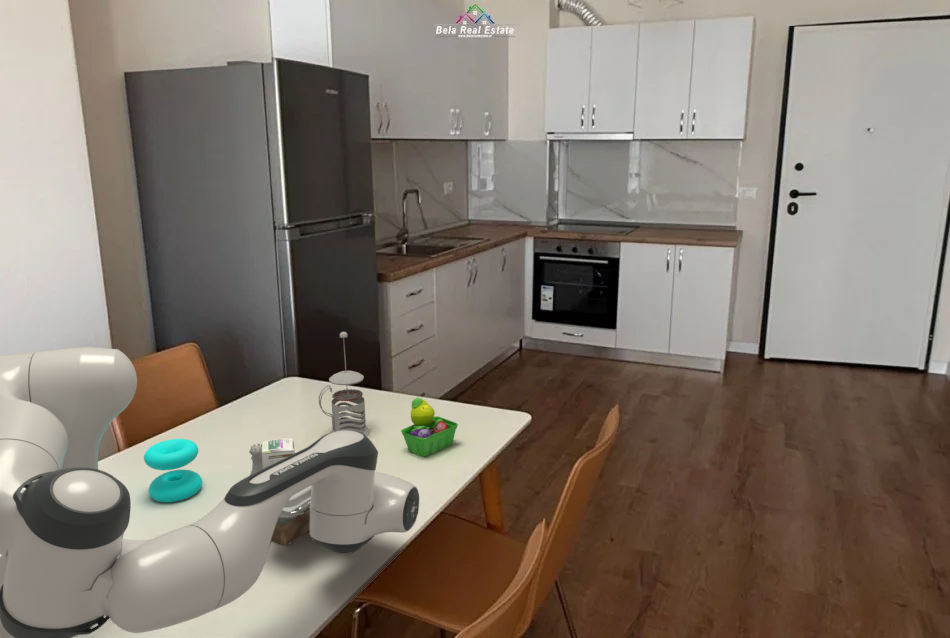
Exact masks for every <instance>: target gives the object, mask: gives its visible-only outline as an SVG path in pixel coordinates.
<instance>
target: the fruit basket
mask: <svg viewBox="0 0 950 638" xmlns="http://www.w3.org/2000/svg"><path fill="white" fill-rule="evenodd" d="M410 410H411V411H410V420H411V422H412V425H410V426H409V425H408V426H407V427H405V428H403V429H401V430H400V432H401V435H402V436H403V439H404V442H405V444H406V447H407V449H408V451H409V452H411V453H413V454H415V455H418V456H421V457H423V458H426V457H427V456H429V455H431V454H435V453H436V452H437V451H441V450H443V449H445V448H447V447H450V446H451V445H453V442H454V438H455V434H456V430H457V428H458V425H459V424H458V423H457V422H455V421H452V420H450V419H446V418H444V417H442V416H441V417H440V416H435V415H436V412H435V410H434V408H433V407H432V406H431V405H430V404H428V402H427V401H426V400H425V399H423V398H421V397H416V398H413V400H412V401H411V409H410Z"/></svg>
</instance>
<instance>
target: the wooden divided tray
mask: <svg viewBox="0 0 950 638" xmlns="http://www.w3.org/2000/svg"><path fill="white" fill-rule="evenodd" d="M309 520H310V508H308V509H307V510H306V511H305V512H303V513H301V514H300V516H298V517H297V518H295V519H294V520H292V521H291V522H289V523H288V524H286V525H282V524H278V523H276V526H275V529H274V532H273V535H272V539H271V542H273V543H277V544H281V545H283V546H285V547H288V545H290V544H291V543H293V542H294V541H296V540H297V539H298V538H300V537H302V535H304V534H306V533H307V532H309V531H310V530H309Z"/></svg>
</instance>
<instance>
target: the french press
mask: <svg viewBox="0 0 950 638" xmlns="http://www.w3.org/2000/svg"><path fill="white" fill-rule="evenodd" d="M348 337H349V336H348V333H347V331H341V332H340V333H339V338H341V339H343V340H342V341H343V343H345V338H348ZM345 347H346V346H345V344H343V353H344V354H343V355H344V356H343V357H344V368H345V370H342V371H339V372H337V373H334V374H333V375H331V376H330V377H329V378H328V380H329V382H330V384H332V385H335V386H336V385H337V386H346V387H345V388H346V389H342V390H337V391H335V392H334V393H333V387H331V385H329V384H327V385H326V386H325V387H323V388H322V389H321V390H320V393H319V395H318V406H319V408H320V410H321V411H322V412H323V414H324V415H326V416H327V417H330V418H331V425H332V426H331V427H332V430H330V432H329V433H331V432H335V431H342V430H351V431H358V432H361V433H363V434H364V435H365V436H367V437H368V434H369V435H370V433H371V428H370V427H368V426H367V419H366V407H365V406H366V405H365V402H366V401H365V397H363V395H364V393H363V391H361V390H359V389H352V388H351V389H348V388H349V387H348V386H350V385H356V384H359V383H361V382H362V381H363V380H364V375H363V374H361V373H360V372H357V371H353V370H347V362H346V361H347V360H346V349H345ZM327 387H328V388H327ZM327 390H329V392H330V393H333V394H332V396H331V397H332V398H333V399H332V400H331V411H332V413H329V412H327V411H325V410H324V409H323V407H322V398H323V395H324V393H326V391H327ZM338 402H339V403H338ZM349 402H350V403H349ZM351 403H352V404H351ZM346 411H348V412H346ZM349 412H350V413H349Z"/></svg>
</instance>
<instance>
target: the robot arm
mask: <svg viewBox="0 0 950 638" xmlns="http://www.w3.org/2000/svg"><path fill="white" fill-rule="evenodd" d="M137 387H138V377H137V371H136V369H135V365H133V363H132V361H131V359H130V358H129V357H128V356H127V355H126V354H125V353H124V352H122V351H121V350H119V349H118V348H106V347H94V346H81V347H68V348H58V349H49V350H48V349H47V350H37V351H29V352H19V353H11V354H0V638H74V637H76V636H78V635H79V636H80V635H83V636H86V635H90V634H92V633H94V632H96V631H97V630H99V629H100V628H101V627H102V626H103V625H104V624H106V623H107V622H108V620H109V619H110V620H111V621H112V623H114V624H115V625H116V626H117V627H118V628H119V629H121V630H123V631H125V632H127V633H132V634H133V633H134V634H141V633H142V634H143V633H148V632H151V631H156V630H158V631H159V630H161V629H165V628H169V627H173V626H175V625H178V624H182V623H185V622H188V621H190V620H194V619H196V618H197V619H198V618H199V617H201V616H205V615H206V614H209V613H210V612H213V611H216V610H217V609H220V608H222V607H225V606H227V605H229V604H231V603H233V602H234V601H236V600H238V599H239V598H240V597H242V596H244V595H245V593H247V592H248V591H249V590H250V589H251V588H252V587H253V586H254V585H255V583H256V582H257V581H258V579H259V578H260V575H261V573H262V571H263V569H264V568H265V567H264V566H265V564H266V561H267V558H268V553H269V549H270V547H271V542H272V541H271V539H272V535H273V532H274V529H275V526H276V523H277V521H278V518H279V517H283V518H291V517H295V516H297V515H299V514H301V513H304V512H305V511H306V510H307V509H308V508H310V520H309V530H308V531H309V537H310V539H311V540H312V541H313V542H314V543H315V544H316V545H317V546H319V547H320V548H321V549H323V550H325V551H327V552H332V553H334V554H344V555H345V554H351V553H354V552H357V551H358V550H360V549H362V547H364V546H365V545H366V544H368V542H370V541H371V540H372V539H373V538H374V537H375V536H377V535H380V534H384V533H403V534H404V533H407V532H409V531H410V530H411V529H412V528H413V526H414V525H415V523H416V522H417V518H418V515H419V508H420V494H419V490H418V488H417V486H415V484H413V483H411V482H409V481H407V480H405V479H403V478H400V477H396V476H394V475H391V474H388V473H385V472H380V471H376V469H377V464H378V457H379V456H378V455H379V451H378V449H377V447H376V446H375V444H374V443H373V442H372V440H371V439H370V438H369V437H368V436H365V435H364V434H363V433H361V432H358V431H351V430H342V431H335V432H331V431H330V432H331V433H330V432H328V433H326V434H324V435H322V436H321V437H319V438H318V439H317V440H316V441H314V442H313V443H311V444H310V445H309V446H307V447H305V448H303V449H300V450H299V451H297V452H295V454H293V455H291V456H288V457H286V458H284V459H282V460H280V461H278V462H276V463H274V464H272V465H270V466H268V467H266V468H264V469H262V470H260V471H258V472H256V473H254V474H252V475H250V474H249V475H248V476H246V477H245V478H243V479H240V480H239V481H238V482H236V483H235V484H233V485H232V486H231V487H230V488H229V490H228V491H227V493H226V494H225V496H224V498H223V499H222V500H221V501H220V502H219V503H218V504H217V505H216V506H214V508H213V509H212V510H210V511H209V512H207V514H206V515H204V516H203V517H201V518H199V519H198V520H196V521H195V522H193V523H191V524H188V525H184V526H182V527H179V528H176V529H173V530H170V531H168V532H166V533H163V534H160V535H158V536H156V537H154V538H150V539H125V538H124V535H125V534H124V533H125V532H126V531H127V528H128V526H129V523H130V518H131V508H132V505H131V494H130V492H129V490H128V488H127V487H126V485H124V483H123V482H122V481H120V480H119V479H118V478H116V477H115V476H113V475H112V474H110V473H108V472H106V471H104V470H101V469H99V459H98V457H99V456H98V454H99V448H100V444H101V440H102V438H103V435H104V433H105V432H106V430H107V429H108V427H109V426H110V424H111V423H112V422H113V421H114V420H115V418H116V417H118V416H119V414H121V413H122V412H123V411H124V410H126V409H127V408H128V406H129V404H131V402H132V400H133V399H134V397H135V394H136V390H137ZM95 625H96V626H95ZM93 626H94V627H93Z"/></svg>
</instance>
